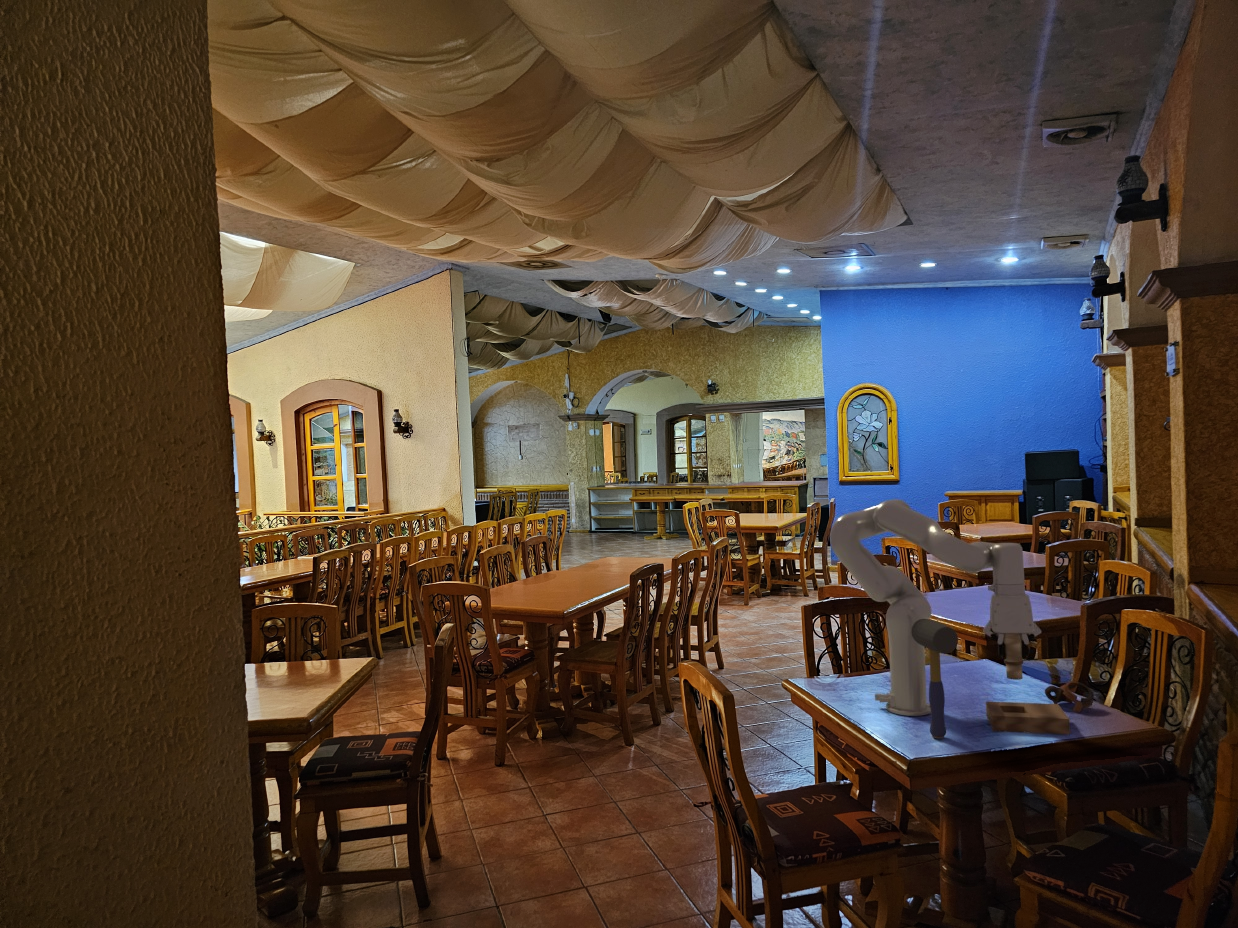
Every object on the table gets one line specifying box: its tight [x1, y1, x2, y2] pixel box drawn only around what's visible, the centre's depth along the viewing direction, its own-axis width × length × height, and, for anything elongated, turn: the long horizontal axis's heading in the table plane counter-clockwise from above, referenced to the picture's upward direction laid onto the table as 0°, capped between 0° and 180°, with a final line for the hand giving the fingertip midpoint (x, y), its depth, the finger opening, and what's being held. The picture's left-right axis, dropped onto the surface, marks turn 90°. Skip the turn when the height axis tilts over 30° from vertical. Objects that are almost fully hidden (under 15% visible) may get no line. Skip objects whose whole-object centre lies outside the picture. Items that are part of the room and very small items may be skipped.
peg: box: [1003, 634, 1024, 681], centre depth 222 cm, size 5×5×14 cm
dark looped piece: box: [1044, 680, 1094, 714], centre depth 234 cm, size 12×10×8 cm
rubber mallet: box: [911, 618, 959, 740], centre depth 215 cm, size 12×8×30 cm, turn 8°
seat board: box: [985, 700, 1071, 735], centre depth 222 cm, size 18×13×4 cm
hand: (1013, 657), depth 222 cm, fingers closed on peg, 4 cm apart
